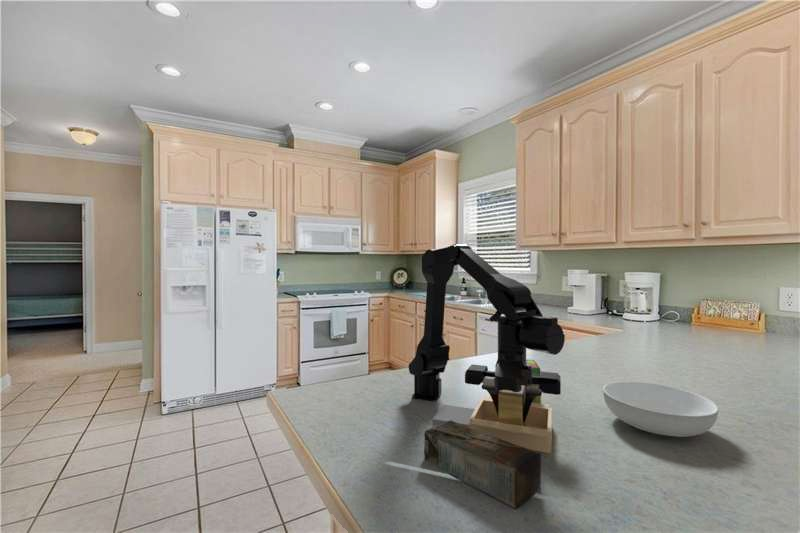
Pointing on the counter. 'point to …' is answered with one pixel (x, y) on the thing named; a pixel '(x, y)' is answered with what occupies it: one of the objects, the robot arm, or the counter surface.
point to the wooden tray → (516, 426)
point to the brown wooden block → (512, 406)
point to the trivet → (453, 415)
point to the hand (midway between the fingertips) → (511, 419)
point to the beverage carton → (484, 462)
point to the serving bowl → (660, 408)
